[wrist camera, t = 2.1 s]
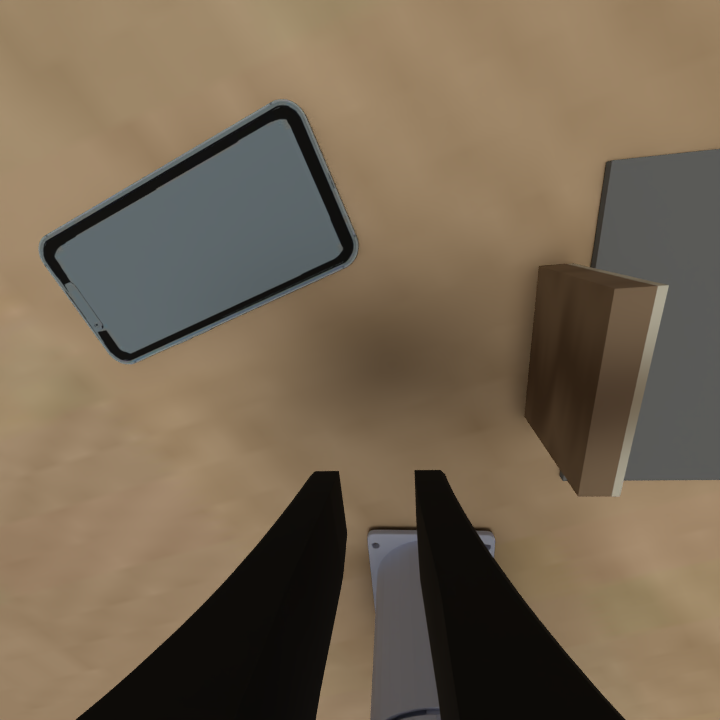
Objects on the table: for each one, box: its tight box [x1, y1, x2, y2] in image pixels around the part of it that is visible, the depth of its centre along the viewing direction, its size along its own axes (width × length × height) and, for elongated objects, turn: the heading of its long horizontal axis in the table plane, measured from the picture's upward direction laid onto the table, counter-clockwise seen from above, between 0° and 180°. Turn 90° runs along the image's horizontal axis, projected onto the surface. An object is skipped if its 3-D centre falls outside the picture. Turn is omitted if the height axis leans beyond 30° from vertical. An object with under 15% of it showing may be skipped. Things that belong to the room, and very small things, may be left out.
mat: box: [560, 149, 720, 481], centre depth 16 cm, size 16×12×1 cm
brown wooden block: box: [524, 263, 669, 496], centre depth 15 cm, size 8×2×6 cm, turn 5°
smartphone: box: [39, 99, 358, 364], centre depth 17 cm, size 7×1×15 cm
